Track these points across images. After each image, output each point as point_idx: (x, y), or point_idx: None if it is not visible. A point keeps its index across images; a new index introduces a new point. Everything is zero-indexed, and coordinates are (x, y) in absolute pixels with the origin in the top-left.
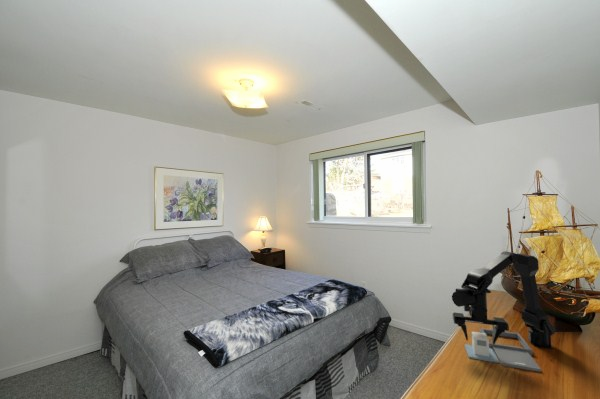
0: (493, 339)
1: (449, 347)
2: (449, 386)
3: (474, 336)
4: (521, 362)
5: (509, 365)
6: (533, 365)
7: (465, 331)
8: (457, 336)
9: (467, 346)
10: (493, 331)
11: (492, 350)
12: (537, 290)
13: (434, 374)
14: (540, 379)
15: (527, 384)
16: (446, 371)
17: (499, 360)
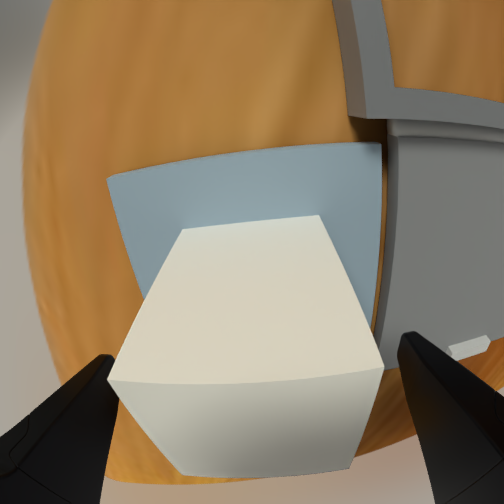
0: (416, 418)
1: (41, 262)
2: (159, 475)
3: (185, 472)
4: (490, 312)
5: None
6: None
7: (88, 495)
8: (62, 3)
9: (138, 218)
10: (474, 478)
11: (378, 192)
12: None
13: None
14: (478, 369)
15: (407, 419)
16: (125, 442)
17: (377, 335)
